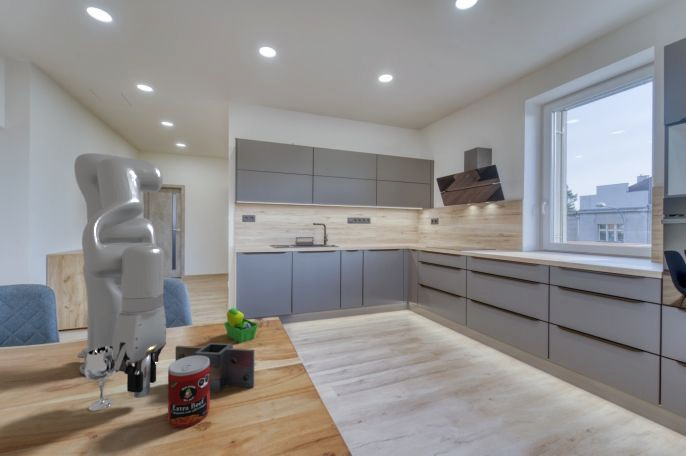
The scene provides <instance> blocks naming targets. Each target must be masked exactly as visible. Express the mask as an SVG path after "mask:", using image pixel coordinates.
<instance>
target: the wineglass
mask: <svg viewBox="0 0 686 456" xmlns="http://www.w3.org/2000/svg"><path fill="white" fill-rule="evenodd" d="M115 364H116V361H113V346H105V347H100V348H96V349H93V350H91V351H89V352H88V355H87V358H86V362H85V368H84V371H85V375H84V377H86V379H87V380H90V381H93V382H94V381H95V382H98V387H99V393H100V396H99V400H97V401H95V402H92V403H91V404H90V405H89V406H88V411H91V412H96V411H101V410H104V409H106V408H109V407H111V406H112V405H113V404H115V399H114V398H104V389H105V388H104V387H105V380H106V379H108V378H110V377H111V376H112V375H114V374H115V373H116V371H114V366H115Z"/></svg>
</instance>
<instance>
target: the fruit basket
mask: <svg viewBox="0 0 686 456" xmlns="http://www.w3.org/2000/svg"><path fill="white" fill-rule="evenodd" d="M226 317H227V321H225V322H223V325H224V326H225V330H226V333H227V337H228V338H230V339H232V340H235V341H236V342H238V343H240V344H243V343H246V342H249V341H251V340H254V339H255V336H256V332H257V329H258V327H259V324H258V323H256V322H253V321H251V320H248V319H247V318H244V317H245V316H244V313H243V312H241V310H240V311H239V310H237V308H236V307H231V308H229V309H228V311H227V313H226Z"/></svg>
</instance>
